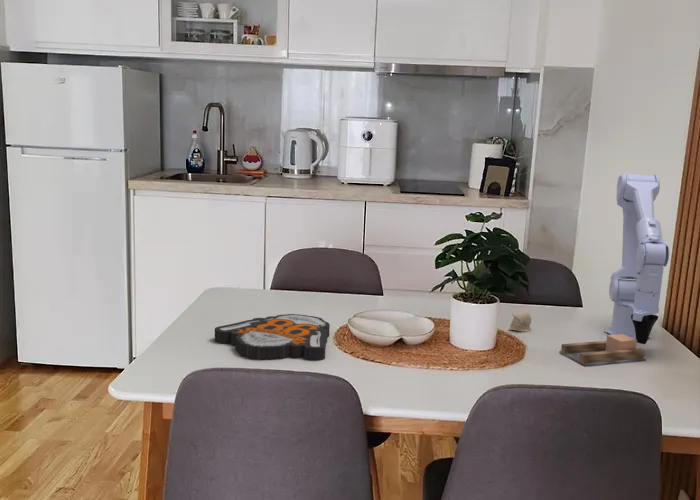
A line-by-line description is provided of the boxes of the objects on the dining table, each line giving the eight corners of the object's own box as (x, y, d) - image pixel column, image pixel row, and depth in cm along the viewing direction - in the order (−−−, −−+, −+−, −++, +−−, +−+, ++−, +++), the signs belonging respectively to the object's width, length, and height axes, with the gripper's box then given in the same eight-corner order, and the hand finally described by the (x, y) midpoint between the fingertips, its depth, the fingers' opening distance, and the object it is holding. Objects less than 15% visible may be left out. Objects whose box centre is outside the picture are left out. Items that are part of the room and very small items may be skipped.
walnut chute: (617, 348, 183) (618, 338, 183) (645, 360, 174) (646, 351, 174) (559, 352, 177) (560, 343, 177) (584, 366, 168) (586, 356, 167)
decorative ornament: (535, 330, 196) (537, 311, 195) (515, 334, 191) (517, 315, 190) (523, 326, 199) (525, 307, 198) (503, 330, 194) (505, 311, 193)
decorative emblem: (305, 372, 157) (361, 337, 184) (306, 357, 156) (361, 324, 183) (196, 349, 169) (263, 319, 196) (196, 335, 168) (263, 307, 195)
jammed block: (621, 349, 181) (623, 334, 180) (635, 355, 176) (637, 340, 175) (605, 350, 179) (607, 335, 178) (618, 357, 174) (620, 341, 173)
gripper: (639, 283, 185) (633, 333, 187) (622, 292, 173) (616, 345, 176) (668, 287, 181) (661, 339, 183) (653, 297, 169) (646, 352, 172)
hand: (641, 342), depth 179 cm, fingers closed
